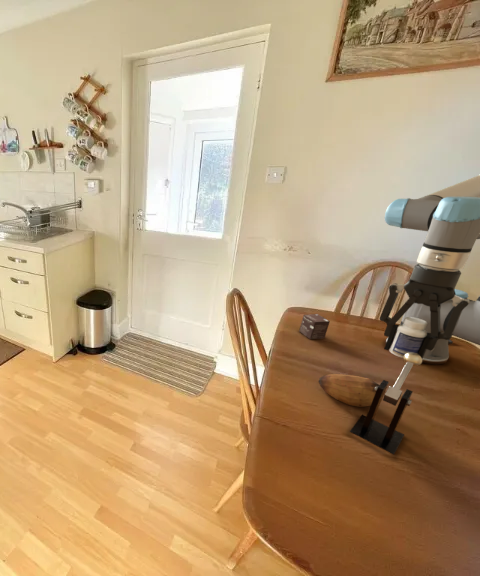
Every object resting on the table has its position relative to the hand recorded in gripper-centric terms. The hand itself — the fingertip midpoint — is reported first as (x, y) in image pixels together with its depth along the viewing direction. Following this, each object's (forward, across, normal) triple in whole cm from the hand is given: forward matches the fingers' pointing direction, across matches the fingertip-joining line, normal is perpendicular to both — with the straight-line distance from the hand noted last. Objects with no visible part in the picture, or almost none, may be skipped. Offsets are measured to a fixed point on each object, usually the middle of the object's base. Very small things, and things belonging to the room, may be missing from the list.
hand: (402, 353), depth 80 cm
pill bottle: (+1, 0, 0) cm, 1 cm away
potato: (+15, -6, -10) cm, 19 cm away
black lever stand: (+15, +3, -18) cm, 23 cm away
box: (+15, -27, +23) cm, 38 cm away
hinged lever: (+2, +3, -11) cm, 12 cm away
